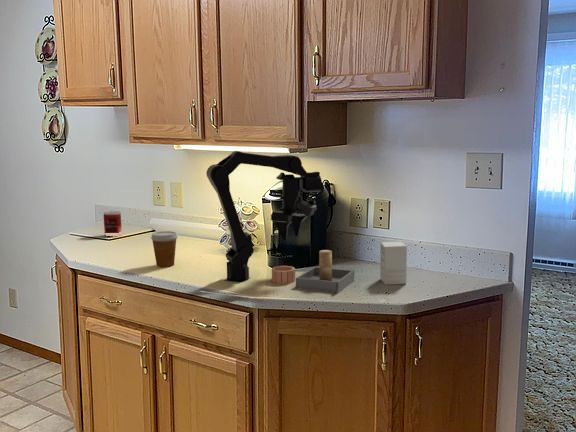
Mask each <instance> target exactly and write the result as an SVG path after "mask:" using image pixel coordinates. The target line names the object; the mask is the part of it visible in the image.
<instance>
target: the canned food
mask: <svg viewBox="0 0 576 432" xmlns="http://www.w3.org/2000/svg"><path fill="white" fill-rule="evenodd" d="M121 214H122V213H121V211H117V210H111V211H110V210H109V211H105V212H104V211H103V228H104V234H105V233H119V232H121V231H122V215H121Z"/></svg>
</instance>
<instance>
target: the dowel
mask: <svg viewBox="0 0 576 432" xmlns="http://www.w3.org/2000/svg"><path fill="white" fill-rule="evenodd" d="M318 255H319V256H318V257H319V258H318V259H319V262H318V267H319V280H325V281H332V268H333V251H332V250H331V249H330V250H329V249H322V250H319V253H318Z"/></svg>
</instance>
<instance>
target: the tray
mask: <svg viewBox="0 0 576 432" xmlns="http://www.w3.org/2000/svg"><path fill="white" fill-rule="evenodd" d="M353 282H355V270H352V269H343V268H342V269H341V268H333V267H332V281H325V280H319V266H313V267H312V268H310V269H308V270H307V271H305V272H303V273H302V274H300V275H299V276H296V277H295V288H297V289H307V290H317V291H324V292H332V293H333V294H340V292H342V291H343V290H345V289H346V288H347V287H348V286H349V285H351V284H352V283H353Z"/></svg>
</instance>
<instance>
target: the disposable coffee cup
mask: <svg viewBox="0 0 576 432" xmlns="http://www.w3.org/2000/svg"><path fill="white" fill-rule="evenodd" d="M150 239H151V241H152V246H153V251H154V256H155V264H156V267H159V268H170V267H174V266H175V258H176V247H177V245H176V244H177V239H178V235H177V232H175V231H166V230H165V231H156V232H155V231H154V232H152V234H151V237H150Z"/></svg>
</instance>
